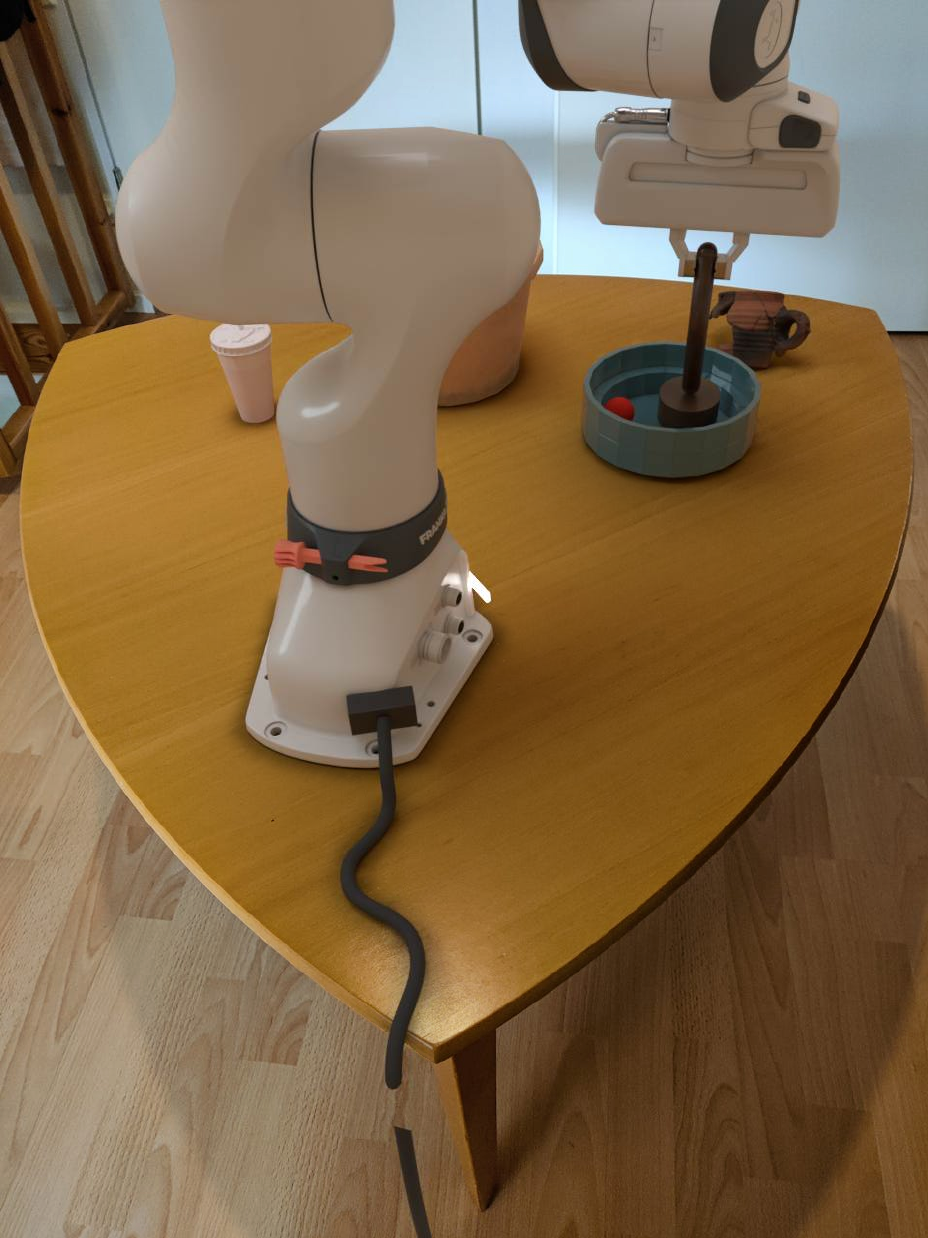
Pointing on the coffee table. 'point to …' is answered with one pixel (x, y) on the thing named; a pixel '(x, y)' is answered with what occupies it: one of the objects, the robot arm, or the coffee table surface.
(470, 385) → the pottery
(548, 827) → the coffee table surface
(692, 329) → the wooden plunger
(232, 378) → the smoothie
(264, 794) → the coffee table surface
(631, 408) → the cherry tomato
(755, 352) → the pottery mug
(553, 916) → the coffee table surface
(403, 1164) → the robot arm
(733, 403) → the bowl
